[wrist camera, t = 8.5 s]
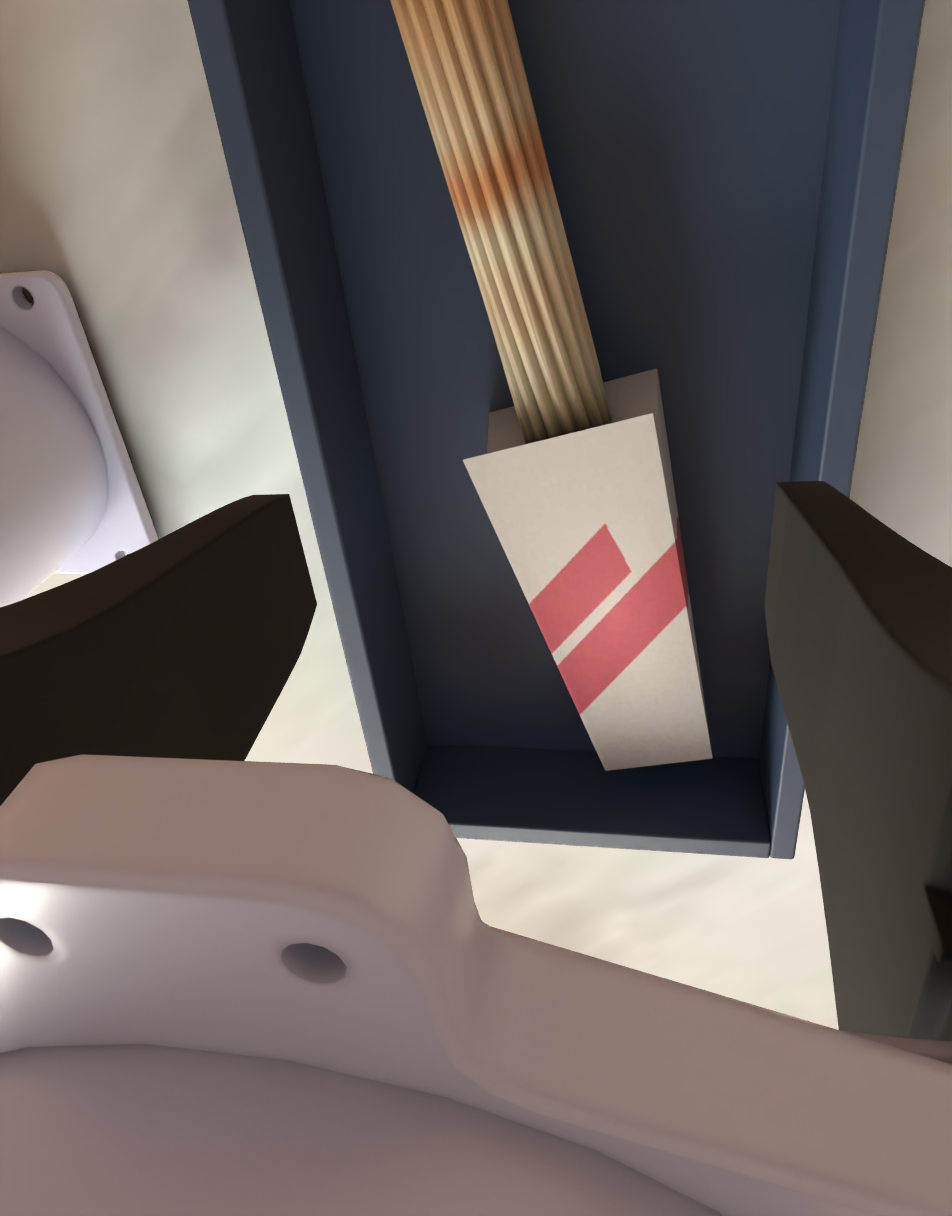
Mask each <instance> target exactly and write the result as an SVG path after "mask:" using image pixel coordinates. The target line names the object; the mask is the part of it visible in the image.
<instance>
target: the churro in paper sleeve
mask: <svg viewBox="0 0 952 1216" xmlns="http://www.w3.org/2000/svg"><path fill="white" fill-rule="evenodd" d="M390 1H391V4H392V7H393V10H394V14H395V17H396V20H397V23H398V27H399V30H400V33H401V36H402V40H403V43H404V46H405V49H406V53H407V56H408V59H409V62H410V66H411V69H412V72H413V75H414V79H415V82H416V85H417V88H418V92H419V95H420V98H421V101H422V105H423V108H424V111H425V114H426V118H427V121H428V124H429V127H430V131H431V134H432V137H433V140H434V143H435V147H436V150H437V153H438V156H439V159H440V163H441V166H442V169H443V172H444V176H445V179H446V182H447V185H448V188H449V192H450V195H451V198H452V201H453V204H454V208H455V211H456V214H457V217H458V220H459V224H460V227H461V230H462V233H463V236H464V240H465V243H466V246H467V249H468V253H469V256H470V259H471V262H472V265H473V269H474V272H475V275H476V278H477V281H478V285H479V288H480V291H481V294H482V297H483V301H484V304H485V307H486V310H487V313H488V317H489V320H490V324H491V327H492V330H493V334H494V337H495V341H496V344H497V347H498V351H499V354H500V358H501V361H502V365H503V368H504V371H505V375H506V378H507V382H508V385H509V389H510V392H511V395H512V399H513V402H514V406H512V407H509V408H505V409H501V410H497V411H493V412H490V413H489V425H488V448H487V454H484V455H480V456H476V457H472V458H468V459H464V460H463V462H464V464H465V466H466V468H467V471H468V473H469V475H470V477H471V479H472V482H473V484H474V486H475V488H476V490H477V492H478V495H479V497H480V499H481V501H482V503H483V505H484V508H485V510H486V512H487V514H488V516H489V519H490V521H491V523H492V525H493V527H494V529H495V532H496V534H497V536H498V538H499V540H500V542H501V545H502V547H503V549H504V551H505V553H506V556H507V558H508V560H509V562H510V564H511V566H512V569H513V571H514V573H515V575H516V577H517V579H518V582H519V584H520V586H521V588H522V590H523V593H524V595H525V597H526V599H527V601H528V603H529V606H530V608H531V610H532V612H533V614H534V616H535V619H536V621H537V623H538V625H539V627H540V630H541V632H542V634H543V636H544V638H545V640H546V643H547V645H548V647H549V649H550V651H551V653H552V656H553V658H554V660H555V662H556V664H557V667H558V669H559V671H560V673H561V675H562V677H563V680H564V682H565V684H566V686H567V688H568V691H569V693H570V695H571V697H572V699H573V701H574V704H575V706H576V708H577V710H578V712H579V714H580V717H581V719H582V721H583V723H584V725H585V728H586V730H587V732H588V734H589V736H590V738H591V741H592V743H593V745H594V747H595V749H596V751H597V754H598V756H599V758H600V760H601V762H602V765H603V767H604V769H605V771H609V770H618V769H626V768H635V767H644V766H652V765H661V764H670V763H678V762H687V761H696V760H704V759H713V758H712V751H711V744H710V737H709V730H708V723H707V716H706V709H705V702H704V695H703V688H702V681H701V673H700V666H699V659H698V652H697V645H696V638H695V631H694V624H693V617H692V610H691V603H690V596H689V589H688V582H687V574H686V567H685V560H684V553H683V546H682V539H681V532H680V525H679V518H678V511H677V504H676V497H675V490H674V483H673V475H672V468H671V461H670V454H669V447H668V440H667V433H666V426H665V419H664V412H663V405H662V398H661V391H660V383H659V376H658V369H653V370H649V371H645V372H641V373H638V374H634V375H630V376H626V377H622V378H619V379H615V380H611V381H607V382H603V380H602V376H601V371H600V367H599V363H598V359H597V355H596V351H595V347H594V343H593V339H592V335H591V331H590V327H589V323H588V320H587V316H586V312H585V308H584V304H583V300H582V296H581V292H580V288H579V284H578V281H577V277H576V273H575V269H574V265H573V261H572V257H571V253H570V249H569V245H568V241H567V238H566V234H565V230H564V226H563V222H562V218H561V214H560V210H559V206H558V203H557V199H556V195H555V191H554V187H553V183H552V179H551V175H550V171H549V167H548V163H547V159H546V155H545V151H544V147H543V143H542V138H541V134H540V130H539V126H538V122H537V118H536V114H535V110H534V106H533V102H532V98H531V93H530V89H529V85H528V81H527V77H526V73H525V69H524V65H523V61H522V57H521V53H520V49H519V44H518V40H517V36H516V32H515V28H514V24H513V20H512V16H511V12H510V8H509V4H508V0H390Z"/></svg>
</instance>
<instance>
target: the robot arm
mask: <svg viewBox="0 0 952 1216" xmlns="http://www.w3.org/2000/svg"><path fill="white" fill-rule="evenodd" d="M23 287H24V288H26V289H27V290H28V291H29V292H30V293H31V295H32V296H33V300H34V305H33V304H31V303H30V302H28V301H27V300H26V298H25V297H24V295H23V290H22V288H23ZM123 551H125V552H127V553H129V554H128V555H125V554H124V552H123ZM53 573H89V574H86V575H84V576H82V577H80V578H77V579H75V580H73V581H70V582H68V583H65V584H63V585H61V586H58V587H55V588H53V589H50V590H48V591H45V592H42V593H40V594H37V595H35V596H32V597H29V598H27V597H28V596H29V595H30V594H31V593H32V592H33V591H34V590H35V589H36V588H38V587H39V586H40V585H41V584H42V583H43V582H44V581H45V580H46V579H47V578H48V577H50V576H51V575H52V574H53ZM26 598H27V599H26ZM316 606H317V602H316V598H315V594H314V590H313V586H312V583H311V579H310V575H309V571H308V567H307V563H306V559H305V555H304V551H303V547H302V543H301V539H300V535H299V531H298V527H297V523H296V520H295V516H294V512H293V508H292V504H291V500H290V496H289V494H276V495H252V496H248V497H245V498H242V499H240V500H237V501H235V502H232V503H230V504H228V505H225V506H223V507H221V508H219V509H217V510H215V511H213V512H211V513H209V514H207V515H205V516H203V517H201V518H199V519H197V520H195V521H193V522H191V523H189V524H187V525H186V526H184V527H182V528H180V529H178V530H176V531H174V532H172V533H170V534H168V535H166V536H164V537H163V538H161V539H158V536H157V534H156V531H155V528H154V525H153V522H152V520H151V517H150V514H149V511H148V509H147V506H146V503H145V500H144V497H143V495H142V492H141V489H140V486H139V483H138V481H137V478H136V475H135V472H134V469H133V467H132V464H131V461H130V458H129V456H128V453H127V450H126V447H125V444H124V442H123V439H122V436H121V433H120V430H119V428H118V425H117V422H116V419H115V416H114V414H113V411H112V408H111V405H110V403H109V400H108V397H107V394H106V391H105V389H104V386H103V383H102V380H101V377H100V375H99V372H98V369H97V366H96V363H95V361H94V358H93V355H92V352H91V350H90V347H89V344H88V341H87V338H86V336H85V333H84V330H83V327H82V324H81V322H80V319H79V316H78V313H77V310H76V308H75V305H74V302H73V299H72V297H71V294H70V291H69V289H68V287H67V285H66V284H65V282H64V281H63V280H62V279H61V278H60V277H59V276H58V275H56V274H54V273H52V272H50V271H44V270H40V271H28V272H16V273H4V274H0V1216H952V568H951V567H950V566H948V565H946V564H945V563H943V562H941V561H940V560H938V559H936V558H935V557H933V556H931V555H930V554H928V553H926V552H925V551H923V550H922V549H920V548H919V547H917V546H915V545H914V544H912V543H911V542H909V541H908V540H906V539H905V538H903V537H902V536H900V535H899V534H897V533H896V532H895V531H893V530H892V529H890V528H889V527H887V526H886V525H885V524H883V523H882V522H880V521H879V520H878V519H876V518H875V517H873V516H872V515H871V514H869V513H868V512H867V511H865V510H864V509H863V508H861V507H860V506H859V505H857V504H856V503H855V502H853V501H852V500H851V499H849V498H848V497H846V496H845V495H844V494H842V493H841V492H840V491H838V490H837V489H835V488H834V487H833V486H831V485H830V484H828V483H826V482H824V481H797V482H776V491H775V501H774V511H773V522H772V532H771V542H770V553H769V563H768V573H767V584H766V594H765V604H764V606H765V616H766V625H767V634H768V642H769V650H770V658H771V664H772V668H773V671H774V675H775V679H776V683H777V686H778V690H779V694H780V698H781V701H782V705H783V709H784V712H785V716H786V720H787V723H788V727H789V730H790V734H791V738H792V741H793V745H794V749H795V752H796V756H797V759H798V763H799V767H800V770H801V774H802V778H803V781H804V785H805V790H806V794H807V799H808V803H809V808H810V813H811V819H812V826H813V833H814V840H815V846H816V853H817V860H818V866H819V873H820V881H821V888H822V896H823V903H824V911H825V918H826V926H827V933H828V941H829V949H830V958H831V966H832V975H833V983H834V992H835V1000H836V1009H837V1017H838V1026H839V1030H836V1029H833V1028H829V1027H826V1026H823V1025H819V1024H816V1023H812V1022H809V1021H806V1020H802V1019H799V1018H796V1017H792V1016H789V1015H786V1014H782V1013H779V1012H776V1011H772V1010H769V1009H765V1008H762V1007H759V1006H755V1005H752V1004H749V1003H745V1002H742V1001H739V1000H735V999H732V998H729V997H725V996H722V995H719V994H715V993H712V992H708V991H705V990H702V989H698V988H695V987H692V986H688V985H685V984H682V983H678V982H675V981H672V980H668V979H665V978H661V977H658V976H655V975H651V974H648V973H645V972H641V971H638V970H635V969H631V968H628V967H625V966H621V965H618V964H615V963H611V962H608V961H604V960H601V959H598V958H594V957H591V956H588V955H584V954H581V953H578V952H574V951H571V950H568V949H564V948H561V947H557V946H554V945H551V944H547V943H544V942H541V941H537V940H534V939H531V938H527V937H524V936H521V935H517V934H514V933H510V932H507V931H504V930H500V929H497V928H494V927H490V926H488V925H487V924H485V923H484V922H482V920H481V919H480V916H479V913H478V910H477V908H476V905H475V902H474V898H473V892H472V886H471V881H470V875H469V869H468V863H467V857H466V855H465V853H464V852H463V850H462V848H461V846H460V844H459V842H458V841H457V839H456V837H455V835H454V833H453V832H452V830H451V828H450V826H449V824H448V823H447V821H446V819H445V817H444V815H443V814H442V813H441V812H439V811H438V810H437V809H435V808H434V807H432V806H431V805H430V804H428V803H427V802H425V801H424V800H422V799H421V798H419V797H418V796H416V795H415V794H413V793H412V792H410V791H409V790H407V789H406V788H404V787H403V786H401V785H400V784H398V783H397V782H396V781H394V780H393V779H391V778H388V777H384V776H379V775H375V774H371V773H366V772H362V771H358V770H354V769H349V768H345V767H341V766H337V765H323V764H299V763H275V762H251V761H244V760H245V759H246V757H247V755H248V753H249V751H250V749H251V747H252V746H253V744H254V742H255V740H256V738H257V736H258V734H259V732H260V731H261V729H262V727H263V725H264V723H265V721H266V719H267V717H268V716H269V714H270V712H271V710H272V708H273V706H274V704H275V703H276V701H277V699H278V697H279V695H280V693H281V691H282V689H283V687H284V686H285V684H286V682H287V680H288V678H289V676H290V674H291V672H292V670H293V668H294V666H295V664H296V662H297V660H298V658H299V656H300V654H301V651H302V648H303V646H304V643H305V640H306V637H307V635H308V632H309V628H310V625H311V622H312V619H313V616H314V612H315V609H316Z"/></svg>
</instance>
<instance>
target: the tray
mask: <svg viewBox="0 0 952 1216" xmlns="http://www.w3.org/2000/svg"><path fill="white" fill-rule="evenodd" d="M188 4H189V8H190V12H191V16H192V21H193V25H194V29H195V33H196V37H197V41H198V46H199V50H200V54H201V58H202V62H203V66H204V71H205V75H206V79H207V83H208V87H209V91H210V96H211V100H212V104H213V108H214V112H215V116H216V121H217V125H218V129H219V133H220V137H221V141H222V146H223V150H224V154H225V158H226V162H227V166H228V171H229V175H230V179H231V183H232V187H233V191H234V196H235V200H236V204H237V208H238V212H239V216H240V221H241V225H242V229H243V233H244V237H245V241H246V246H247V250H248V254H249V258H250V262H251V266H252V271H253V275H254V279H255V283H256V287H257V291H258V296H259V300H260V304H261V308H262V312H263V316H264V321H265V325H266V329H267V333H268V337H269V341H270V346H271V350H272V354H273V358H274V362H275V366H276V371H277V375H278V379H279V383H280V387H281V391H282V396H283V400H284V404H285V408H286V412H287V416H288V421H289V425H290V429H291V433H292V437H293V441H294V446H295V450H296V454H297V458H298V462H299V466H300V471H301V475H302V479H303V483H304V487H305V491H306V495H307V500H308V504H309V508H310V512H311V516H312V520H313V525H314V529H315V533H316V537H317V541H318V545H319V550H320V554H321V558H322V562H323V566H324V570H325V575H326V579H327V583H328V587H329V591H330V595H331V600H332V604H333V608H334V612H335V616H336V620H337V625H338V629H339V633H340V637H341V641H342V645H343V650H344V654H345V658H346V662H347V666H348V670H349V675H350V679H351V683H352V687H353V691H354V695H355V700H356V704H357V708H358V712H359V716H360V720H361V725H362V729H363V733H364V737H365V741H366V745H367V750H368V754H369V758H370V762H371V766H372V770H373V774H375V775H379V776H384V777H388V778H391V779H393V780H394V781H396V782H397V783H398V784H400V785H401V786H403V787H404V788H406V789H407V790H409V791H410V792H412V793H413V794H415V795H416V796H418V797H419V798H421V799H422V800H424V801H425V802H427V803H428V804H430V805H431V806H432V807H434V808H435V809H437V810H438V811H439V812H441V813H442V814H443V815H444V817H445V819H446V821H447V823H448V824H449V826H450V828H451V830H452V832H453V833H454V835H455V837H456V838H466V839H481V840H497V841H512V842H528V843H543V844H559V845H574V846H590V847H605V848H621V849H636V850H652V851H667V852H683V853H698V854H714V855H729V856H745V857H760V858H769V855H770V857H771V858H780V859H793V858H794V856H795V849H796V843H797V836H798V830H799V823H800V816H801V810H802V803H803V797H804V790H805V785H804V781H803V778H802V774H801V770H800V767H799V763H798V759H797V756H796V752H795V749H794V745H793V741H792V738H791V734H790V730H789V727H788V723H787V720H786V716H785V712H784V709H783V705H782V701H781V698H780V694H779V690H778V686H777V683H776V679H775V675H774V671H773V668H772V664H771V658H770V650H769V642H768V634H767V625H766V616H765V606H764V604H765V594H766V584H767V573H768V563H769V553H770V542H771V532H772V522H773V511H774V501H775V491H776V482H797V481H824V482H826V483H828V484H830V485H831V486H833V487H834V488H835V489H837V490H838V491H840V492H841V493H842V494H844V495H845V496H846V497H848V498H849V496H850V489H851V483H852V476H853V470H854V463H855V457H856V450H857V444H858V437H859V430H860V424H861V417H862V411H863V404H864V398H865V391H866V385H867V378H868V372H869V365H870V358H871V352H872V345H873V339H874V332H875V326H876V319H877V313H878V306H879V300H880V293H881V287H882V280H883V273H884V267H885V260H886V254H887V247H888V241H889V234H890V228H891V221H892V215H893V208H894V201H895V195H896V188H897V182H898V175H899V169H900V162H901V156H902V149H903V143H904V136H905V129H906V123H907V116H908V110H909V103H910V97H911V90H912V84H913V77H914V71H915V64H916V58H917V51H918V44H919V38H920V31H921V25H922V18H923V12H924V5H925V0H508V4H509V8H510V12H511V16H512V20H513V24H514V28H515V32H516V36H517V40H518V44H519V49H520V53H521V57H522V61H523V65H524V69H525V73H526V77H527V81H528V85H529V89H530V93H531V98H532V102H533V106H534V110H535V114H536V118H537V122H538V126H539V130H540V134H541V138H542V143H543V147H544V151H545V155H546V159H547V163H548V167H549V171H550V175H551V179H552V183H553V187H554V191H555V195H556V199H557V203H558V206H559V210H560V214H561V218H562V222H563V226H564V230H565V234H566V238H567V241H568V245H569V249H570V253H571V257H572V261H573V265H574V269H575V273H576V277H577V281H578V284H579V288H580V292H581V296H582V300H583V304H584V308H585V312H586V316H587V320H588V323H589V327H590V331H591V335H592V339H593V343H594V347H595V351H596V355H597V359H598V363H599V367H600V371H601V376H602V380H603V382H607V381H611V380H615V379H619V378H622V377H626V376H630V375H634V374H638V373H641V372H645V371H649V370H653V369H658V376H659V383H660V391H661V398H662V405H663V412H664V419H665V426H666V433H667V440H668V447H669V454H670V461H671V468H672V475H673V483H674V490H675V497H676V504H677V511H678V518H679V525H680V532H681V539H682V546H683V553H684V560H685V567H686V574H687V582H688V589H689V596H690V603H691V610H692V617H693V624H694V631H695V638H696V645H697V652H698V659H699V666H700V673H701V681H702V688H703V695H704V702H705V709H706V716H707V723H708V730H709V737H710V744H711V751H712V758H713V759H704V760H696V761H687V762H678V763H670V764H661V765H652V766H644V767H635V768H626V769H618V770H609V771H605V769H604V767H603V765H602V762H601V760H600V758H599V756H598V754H597V751H596V749H595V747H594V745H593V743H592V741H591V738H590V736H589V734H588V732H587V730H586V728H585V725H584V723H583V721H582V719H581V717H580V714H579V712H578V710H577V708H576V706H575V704H574V701H573V699H572V697H571V695H570V693H569V691H568V688H567V686H566V684H565V682H564V680H563V677H562V675H561V673H560V671H559V669H558V667H557V664H556V662H555V660H554V658H553V656H552V653H551V651H550V649H549V647H548V645H547V643H546V640H545V638H544V636H543V634H542V632H541V630H540V627H539V625H538V623H537V621H536V619H535V616H534V614H533V612H532V610H531V608H530V606H529V603H528V601H527V599H526V597H525V595H524V593H523V590H522V588H521V586H520V584H519V582H518V579H517V577H516V575H515V573H514V571H513V569H512V566H511V564H510V562H509V560H508V558H507V556H506V553H505V551H504V549H503V547H502V545H501V542H500V540H499V538H498V536H497V534H496V532H495V529H494V527H493V525H492V523H491V521H490V519H489V516H488V514H487V512H486V510H485V508H484V505H483V503H482V501H481V499H480V497H479V495H478V492H477V490H476V488H475V486H474V484H473V482H472V479H471V477H470V475H469V473H468V471H467V468H466V466H465V464H464V462H463V460H464V459H468V458H472V457H476V456H480V455H484V454H487V448H488V425H489V413H490V412H493V411H497V410H501V409H505V408H509V407H512V406H514V402H513V399H512V395H511V392H510V389H509V385H508V382H507V378H506V375H505V371H504V368H503V365H502V361H501V358H500V354H499V351H498V347H497V344H496V341H495V337H494V334H493V330H492V327H491V324H490V320H489V317H488V313H487V310H486V307H485V304H484V301H483V297H482V294H481V291H480V288H479V285H478V281H477V278H476V275H475V272H474V269H473V265H472V262H471V259H470V256H469V253H468V249H467V246H466V243H465V240H464V236H463V233H462V230H461V227H460V224H459V220H458V217H457V214H456V211H455V208H454V204H453V201H452V198H451V195H450V192H449V188H448V185H447V182H446V179H445V176H444V172H443V169H442V166H441V163H440V159H439V156H438V153H437V150H436V147H435V143H434V140H433V137H432V134H431V131H430V127H429V124H428V121H427V118H426V114H425V111H424V108H423V105H422V101H421V98H420V95H419V92H418V88H417V85H416V82H415V79H414V75H413V72H412V69H411V66H410V62H409V59H408V56H407V53H406V49H405V46H404V43H403V40H402V36H401V33H400V30H399V27H398V23H397V20H396V17H395V14H394V10H393V7H392V4H391V1H390V0H188Z"/></svg>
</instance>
